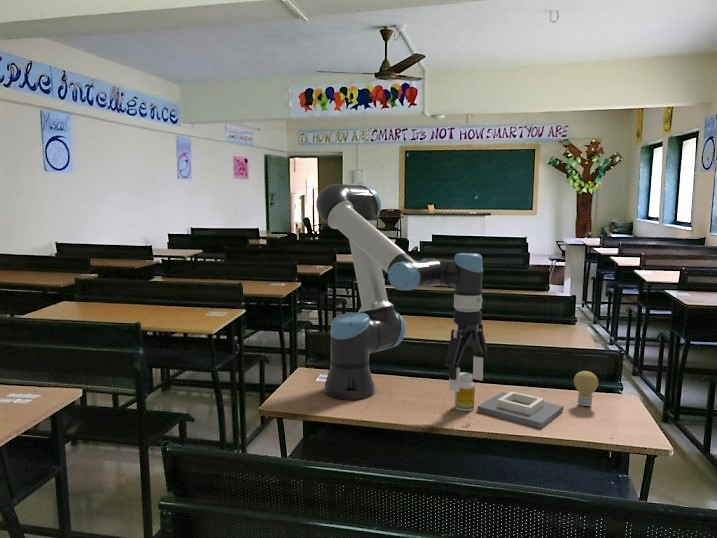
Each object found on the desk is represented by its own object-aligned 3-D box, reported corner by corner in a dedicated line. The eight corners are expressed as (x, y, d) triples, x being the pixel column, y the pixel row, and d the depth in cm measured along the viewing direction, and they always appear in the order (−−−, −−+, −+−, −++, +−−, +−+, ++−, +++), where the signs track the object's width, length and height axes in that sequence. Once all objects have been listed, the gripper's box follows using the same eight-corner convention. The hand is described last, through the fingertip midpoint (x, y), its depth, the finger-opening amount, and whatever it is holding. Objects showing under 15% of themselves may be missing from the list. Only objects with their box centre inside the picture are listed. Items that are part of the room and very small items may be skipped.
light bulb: (599, 410, 151) (602, 375, 150) (576, 408, 151) (578, 374, 150) (592, 402, 157) (594, 368, 156) (569, 401, 158) (571, 367, 157)
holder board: (477, 411, 148) (477, 399, 148) (502, 396, 160) (502, 385, 160) (541, 428, 137) (542, 415, 136) (563, 411, 149) (563, 399, 149)
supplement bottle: (477, 411, 148) (478, 376, 147) (458, 412, 148) (459, 377, 147) (469, 404, 154) (471, 371, 153) (451, 405, 153) (452, 371, 152)
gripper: (457, 317, 136) (456, 399, 138) (500, 305, 155) (498, 377, 157) (431, 314, 141) (431, 393, 142) (476, 302, 160) (475, 372, 162)
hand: (466, 385), depth 150 cm, fingers open, 13 cm apart
